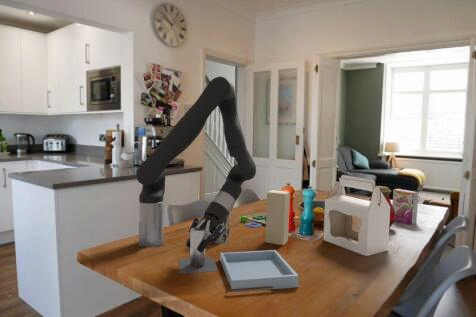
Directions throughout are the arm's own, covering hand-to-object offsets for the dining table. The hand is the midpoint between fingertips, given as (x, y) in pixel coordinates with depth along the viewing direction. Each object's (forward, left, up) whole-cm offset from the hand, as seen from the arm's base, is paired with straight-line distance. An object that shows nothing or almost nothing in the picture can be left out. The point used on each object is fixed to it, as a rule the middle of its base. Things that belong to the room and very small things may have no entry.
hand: (193, 248), depth 112 cm
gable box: (+67, +14, -7) cm, 68 cm away
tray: (+20, -7, -7) cm, 22 cm away
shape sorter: (+44, +56, -8) cm, 71 cm away
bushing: (+2, +1, -6) cm, 6 cm away
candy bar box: (+112, +43, -7) cm, 120 cm away
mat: (+2, +1, -7) cm, 7 cm away
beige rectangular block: (+37, +23, -7) cm, 44 cm away
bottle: (+92, +35, -7) cm, 98 cm away
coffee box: (+14, +28, -7) cm, 32 cm away
